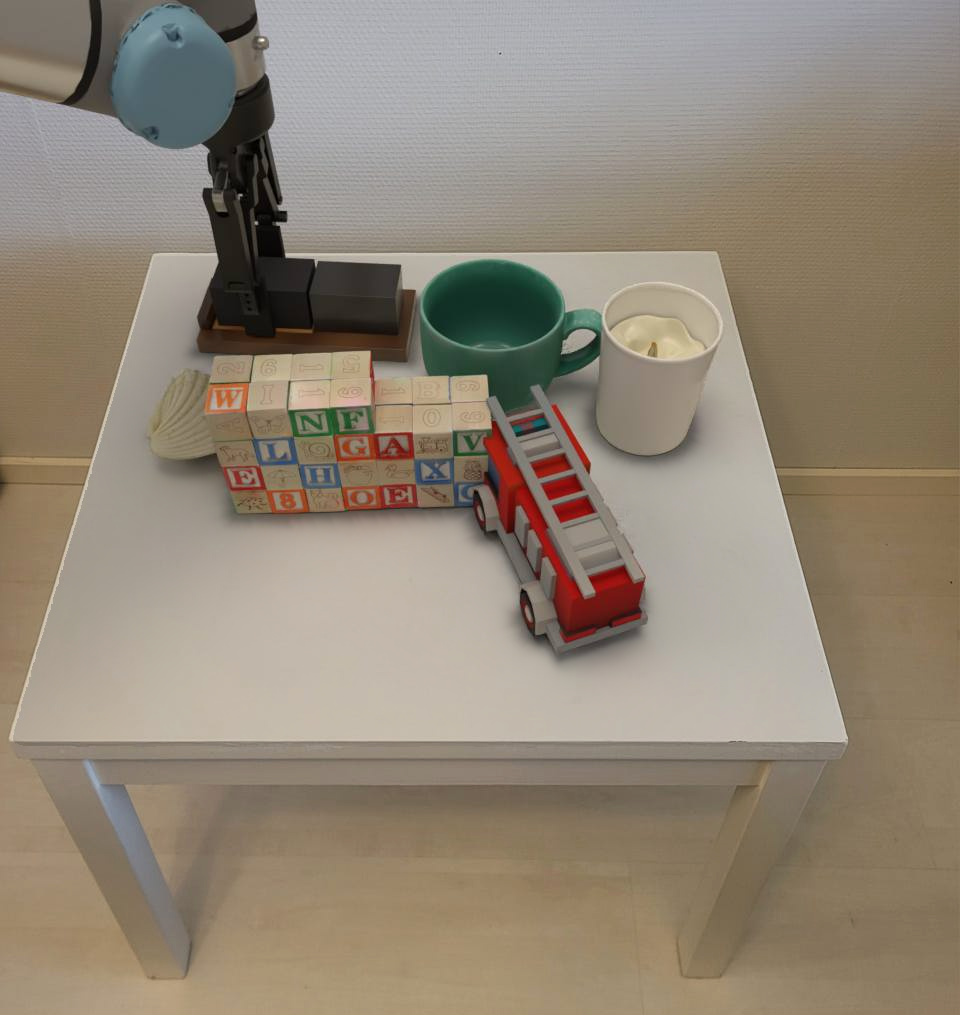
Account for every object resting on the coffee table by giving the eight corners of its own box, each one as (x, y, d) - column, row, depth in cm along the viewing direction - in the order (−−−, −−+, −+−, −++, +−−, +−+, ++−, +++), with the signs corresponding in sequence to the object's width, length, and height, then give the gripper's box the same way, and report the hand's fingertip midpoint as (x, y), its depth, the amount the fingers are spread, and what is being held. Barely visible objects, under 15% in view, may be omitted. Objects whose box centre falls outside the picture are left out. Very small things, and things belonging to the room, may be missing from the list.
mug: (408, 420, 87) (403, 340, 79) (438, 330, 95) (436, 249, 87) (591, 446, 85) (603, 367, 78) (606, 352, 93) (618, 272, 85)
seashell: (124, 409, 84) (188, 345, 84) (198, 467, 89) (259, 406, 88) (128, 445, 77) (197, 375, 77) (208, 505, 82) (274, 440, 82)
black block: (218, 325, 92) (208, 287, 89) (229, 292, 95) (220, 254, 92) (311, 329, 92) (305, 292, 88) (320, 296, 95) (314, 258, 92)
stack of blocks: (487, 451, 84) (489, 345, 75) (491, 507, 80) (494, 402, 71) (242, 459, 84) (212, 353, 74) (234, 515, 80) (201, 411, 70)
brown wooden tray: (199, 352, 92) (185, 302, 88) (220, 292, 98) (208, 242, 93) (407, 362, 92) (403, 312, 87) (416, 301, 97) (414, 251, 93)
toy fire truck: (557, 461, 84) (565, 377, 76) (655, 635, 73) (676, 558, 65) (460, 488, 82) (458, 405, 74) (546, 671, 71) (555, 596, 63)
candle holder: (647, 370, 91) (668, 266, 82) (719, 433, 86) (749, 330, 77) (565, 411, 88) (577, 308, 78) (635, 479, 83) (656, 377, 73)
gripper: (240, 149, 69) (288, 380, 87) (290, 20, 82) (323, 246, 100) (137, 145, 70) (206, 376, 88) (202, 17, 82) (251, 243, 100)
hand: (268, 307), depth 94 cm, fingers open, 7 cm apart
